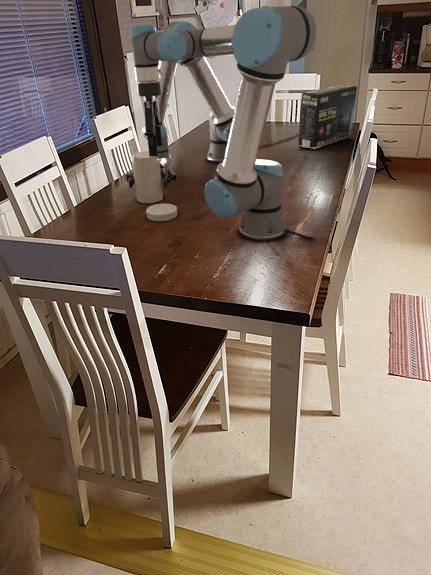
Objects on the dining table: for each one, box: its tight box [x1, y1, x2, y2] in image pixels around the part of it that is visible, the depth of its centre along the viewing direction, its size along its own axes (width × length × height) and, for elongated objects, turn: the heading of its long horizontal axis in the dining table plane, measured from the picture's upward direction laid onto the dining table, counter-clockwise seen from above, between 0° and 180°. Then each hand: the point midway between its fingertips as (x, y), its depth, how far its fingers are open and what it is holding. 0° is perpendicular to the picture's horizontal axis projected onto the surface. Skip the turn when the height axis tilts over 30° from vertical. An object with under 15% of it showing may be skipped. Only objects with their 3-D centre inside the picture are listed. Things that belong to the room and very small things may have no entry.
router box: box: [297, 84, 358, 151], centre depth 238 cm, size 36×11×27 cm, turn 134°
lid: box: [145, 203, 178, 222], centre depth 165 cm, size 11×11×2 cm
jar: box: [131, 150, 164, 204], centre depth 176 cm, size 10×10×17 cm
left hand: (147, 184), depth 175 cm, fingers open, 13 cm apart
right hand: (156, 150), depth 153 cm, fingers open, 13 cm apart
